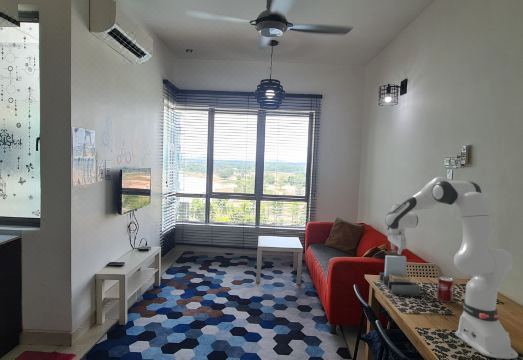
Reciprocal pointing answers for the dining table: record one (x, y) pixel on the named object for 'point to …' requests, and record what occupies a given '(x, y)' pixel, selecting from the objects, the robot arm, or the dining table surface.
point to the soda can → (445, 289)
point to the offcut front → (400, 279)
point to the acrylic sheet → (395, 265)
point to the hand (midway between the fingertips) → (395, 251)
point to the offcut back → (396, 276)
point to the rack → (400, 286)
